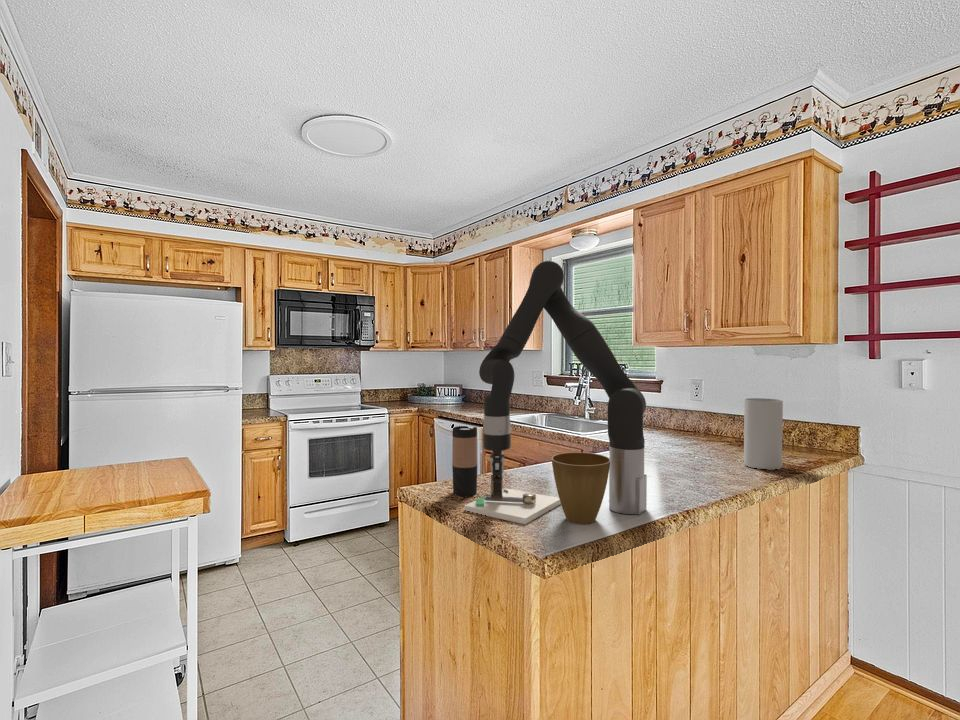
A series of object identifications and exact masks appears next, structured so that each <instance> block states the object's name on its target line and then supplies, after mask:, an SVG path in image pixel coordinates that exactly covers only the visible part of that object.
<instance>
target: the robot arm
mask: <svg viewBox="0 0 960 720" xmlns="http://www.w3.org/2000/svg"><path fill="white" fill-rule="evenodd" d="M564 273H565V272H564V269H563V268H562V266H561V265H560V264H559V263H557V262H556V261H553V260H545V261H542V262H540V263H538V264H537V265H536V266H535V267H534V269H533V270H532V273H531V275H530V279H529V284H528V287H527V290H526V292H525V295H524V296H523V299H522V300H521V302H520V304H519V306H518V308H517V309H516V311H515V312H514V314H513V316H512V317H511V319H510V321H509V322H508V324H507V326H506V328H505V329H504V331H503V333H502V335H501V336H500V338H499V340H498V342H497V343H496V345H495V346H493V347H492V349H491V350H490V351H489V352H488V354H487V355H485V357H484V358H483V360H482V362H481V364H480V366H479V371H478V373H479V377H480V379H481V381H482V382H484V383H485V384H487V385H491V390H490V393H487V394H486V395H485V396H484V400H483V411H484V412H483V414H484V415H483V424H482V425H483V429H482V430H483V449H485V450H487V451H492V453H490V454H489V462H490V472H491V474H493V478H492V481H493V487H494V495H495V496H501V495H502V475H503V474H504V473H505V472H504V471H505V469H504V467H505V466H504V464H505V454H504V453H502V451H507V450H510V449H511V448H512V446H511V445H512V442H511V441H512V440H511V439H512V435H511V433H512V432H511V426H512V424H511V418H510V417H511V416H510V413H511V412H510V398H511V396H512V391H513V387H514V382H515V370H514V366H513V364H512V363H511V362H510V361H511V360H514V359H515V358H518V357H520V355H521V354H522V352H523V351H524V348H525V346H526V344H527V343H528V341H529V340H530V337H531V335H532V333H533V331H534V329H535V327H536V324H537V322H538V319H539V317H540V316H541V314H542V311H543V310H545V311H546V312H547V314H548V315H549V316H550V318H551V319H552V321H553V322H554V325H555V326H556V327H557V329H558V331H559V333H560V334H561V336H562V337H563V339H564V340H565V342H566V344H567V345H568V347H569V348H570V350H571V351H572V353H573V354H574V356H575V357H576V359H577V360H578V361H579V363H581V365H582V366H583V367H584V368H585V369H586V370H587V371H588V372H589V373H590V374H591V375H592V376H593V377H595V379H596V381H598V382H599V383H600V385H601V386H602V388H603V390H604V391H605V392H604V393H606V395H607V397H608V401H607V436H608V439H609V442H608V443H609V446H608V447H609V448H608V449H609V454H608V455H609V457H608V458H609V459H610V468H609V474H608V481H609V483H608V484H609V485H608V486H609V487H608V494H609V495H608V496H609V499H608V505H609V506H608V507H609V510H610V511H612V512H614V513H618V514H624V515H638V514H639V515H642V514H643V513H644V512H645V511H646V510H647V500H648V499H647V497H648V496H647V495H648V494H647V487H648V486H647V483H648V482H647V479H648V477H647V476H648V475H647V474H645V436H644V413H645V411H646V409H647V401H646V399H645V396H644V394H643V393H642V391H640V390H639V389H638V387H637V386H636V384H634V383H633V381H632V380H631V379H630V377H629V375H627V374H626V373H625V371H624V370H623V369H622V367H621V365H620V364H619V362H618V361H617V359H616V358H617V357H615V355H614V354H613V352H612V350H611V347H610V346H609V345H608V343H607V342H606V340H605V339H604V337H603V335H602V334H601V332H600V331H599V329H598V328H597V327H596V325H595V324H594V323H593V321H591V320H590V319H589V318H588V317H587V316H586V315H584V314H583V313H581V312H580V311H579V310H578V309H576V308H575V306H573V304H572V303H571V301H570V300H569V299H568V297H567V296H566V295H565V292H564V291H563V288H562V285H563V283H564V280H565V274H564ZM495 475H500V477H495Z"/></svg>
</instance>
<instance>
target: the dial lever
mask: <svg viewBox="0 0 960 720" xmlns="http://www.w3.org/2000/svg"><path fill="white" fill-rule="evenodd" d="M503 476H504V475H503V474H502V495H501V496H495V495H494V487H493V481H492V478H493V473H491V476H490V494H491V496H486V501H504V502H522V503H525V504H535V503H536V495H535V494H536V493H535V494H532V493H533V492H529V493H525V494H523V498H520V497H503V489H504V488H503V481H504V480H503ZM495 477H500V475H495Z"/></svg>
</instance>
